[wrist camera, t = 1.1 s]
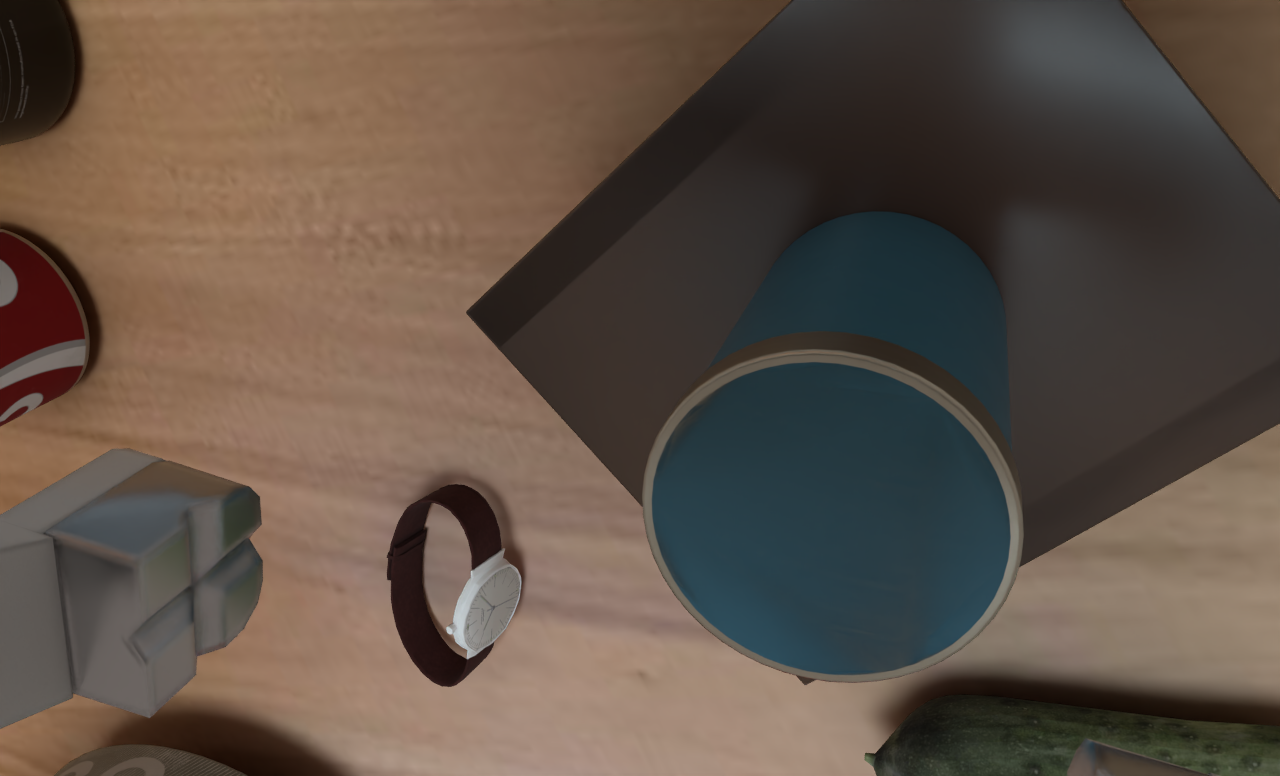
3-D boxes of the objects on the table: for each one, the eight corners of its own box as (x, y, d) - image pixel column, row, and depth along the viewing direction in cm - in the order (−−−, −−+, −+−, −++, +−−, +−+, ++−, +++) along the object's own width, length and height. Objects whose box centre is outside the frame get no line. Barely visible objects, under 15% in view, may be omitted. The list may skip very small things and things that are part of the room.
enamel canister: (897, 149, 20) (848, 270, 13) (1068, 354, 21) (1109, 575, 14) (700, 311, 23) (570, 485, 15) (858, 490, 23) (800, 737, 16)
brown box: (982, -148, 26) (979, -180, 18) (1281, 229, 27) (1403, 356, 19) (593, 217, 32) (464, 313, 24) (848, 506, 33) (804, 686, 25)
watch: (518, 665, 40) (477, 729, 37) (405, 631, 41) (356, 691, 38) (532, 489, 37) (488, 543, 33) (408, 458, 38) (355, 507, 34)
